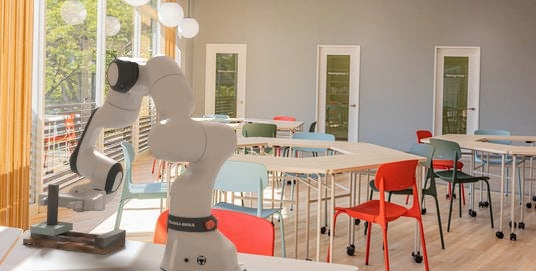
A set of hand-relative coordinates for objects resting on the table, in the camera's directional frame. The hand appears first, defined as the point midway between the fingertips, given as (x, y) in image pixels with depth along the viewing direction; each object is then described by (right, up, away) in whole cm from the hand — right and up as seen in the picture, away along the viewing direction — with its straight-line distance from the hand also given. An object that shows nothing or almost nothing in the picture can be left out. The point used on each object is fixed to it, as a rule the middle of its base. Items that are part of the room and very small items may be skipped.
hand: (55, 204), depth 162 cm
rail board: (+7, -11, -2) cm, 13 cm away
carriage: (-1, -8, -1) cm, 8 cm away
